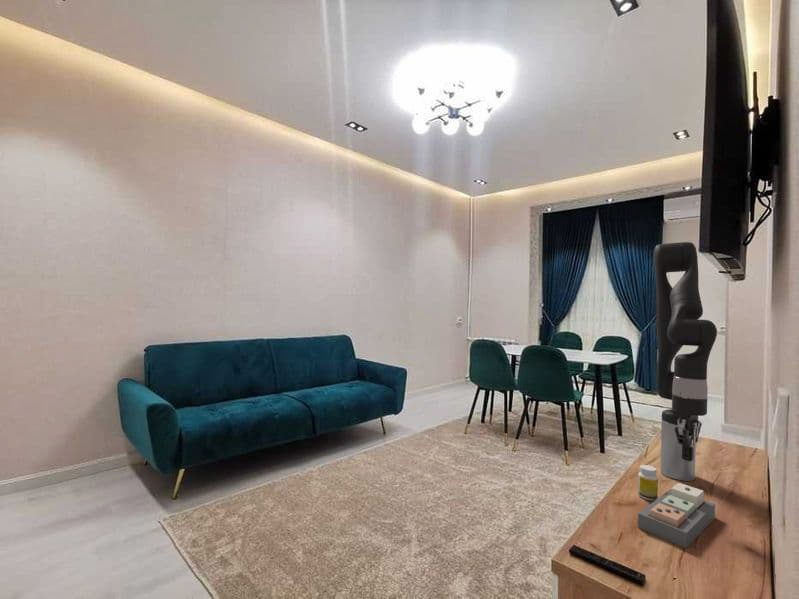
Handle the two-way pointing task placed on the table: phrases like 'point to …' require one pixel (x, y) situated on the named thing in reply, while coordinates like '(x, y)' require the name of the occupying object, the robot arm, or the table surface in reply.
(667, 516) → the tile three
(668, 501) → the tile two
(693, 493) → the tile one
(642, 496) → the supplement bottle
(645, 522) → the well board
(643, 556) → the table surface
